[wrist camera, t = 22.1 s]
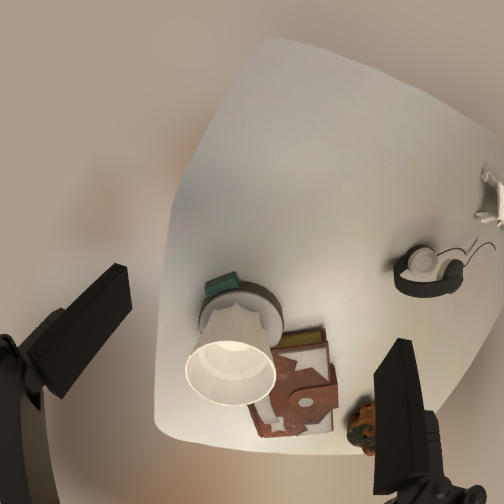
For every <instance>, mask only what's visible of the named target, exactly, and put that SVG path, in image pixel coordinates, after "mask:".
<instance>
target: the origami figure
mask: <svg viewBox="0 0 504 504" xmlns="http://www.w3.org/2000/svg"><path fill="white" fill-rule="evenodd" d="M489 174H490V175H491V177H492V178H493V179H494V181H495V182H496V183H497V189H496V188H495V190H496V191H497V192H498V216H496V217H490V218H487V212H480V213H477V214H476V215H477V216H482V215H483V218H482V220H481V222H483V223H486V222H490V221H494V220H502V221H501V222H499V223H498V225H497V226H498V227H499V226H500V225H501V224H502V223H503V225H504V222H503V221H504V186H503V185H502V184H501V183H500V181H498V180H496V178H495V177H494V176H493V174H492V173H491V171H490V170H489V171H488V173H487V176H486V179H485V178H484V176H483V175H482V178H483V179H484V181H485V182H487V179H488V176H489Z"/></svg>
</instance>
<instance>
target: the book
mask: <svg viewBox="0 0 504 504" xmlns="http://www.w3.org/2000/svg"><path fill="white" fill-rule="evenodd" d="M270 351H271V354H272V357H273V361H274V365H275V369H276V381H275V384H274V387H273V388H272V390H271V391H270V392H269V394H268V395H266V396H265V397H264V398H262V399H261V400H259V401H257V402H254V403H252V404H248V405H247V406H248V408H249V411H250V414H251V416H252V419H253V422H254V424H255V427H256V430H257V432H258V435H259V436H260V437H261V438H262V437H265V438H271V437H284V436H295V435H296V436H301V435H310V434H318V433H325V432H332V431H333V409H334V408H338V383H337V378H336V372H335V367H334V365H330V359H329V347H328V341H327V340H326V330H325V329H319V330H313V331H306V332H299V333H292V334H285V335H282V336H281V339H280V341H279V342H278V344H277V345H276V347H272V348H270Z"/></svg>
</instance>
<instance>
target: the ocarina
mask: <svg viewBox="0 0 504 504" xmlns="http://www.w3.org/2000/svg"><path fill="white" fill-rule="evenodd" d="M347 439H348V441H349V442H350V443H351V444H352V445H354V446H356V447H362V450H363V452H364V453H365V454H366V455H368V456H373V455H375V404H374V403H372V402H366V403H364V404H362V405H361V408H360V416H358V415H352V416H351V417H350V420H349V423H348V428H347Z"/></svg>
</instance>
